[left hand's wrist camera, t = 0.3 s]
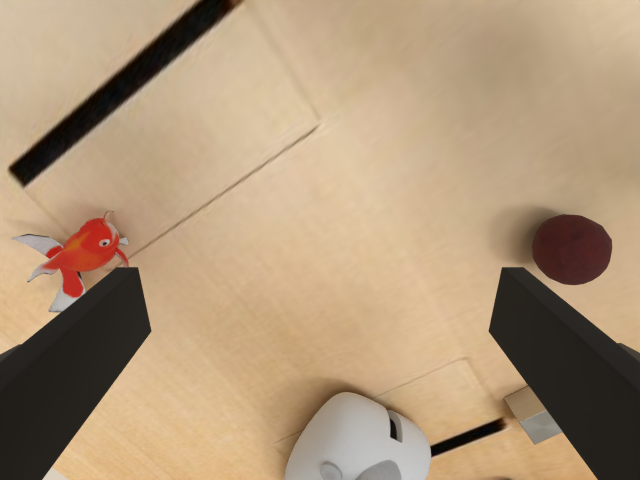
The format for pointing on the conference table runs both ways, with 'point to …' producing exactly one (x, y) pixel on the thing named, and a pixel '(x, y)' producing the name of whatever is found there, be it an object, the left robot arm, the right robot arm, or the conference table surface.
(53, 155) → the conference table surface
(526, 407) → the block
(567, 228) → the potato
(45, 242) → the fish
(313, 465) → the projector
